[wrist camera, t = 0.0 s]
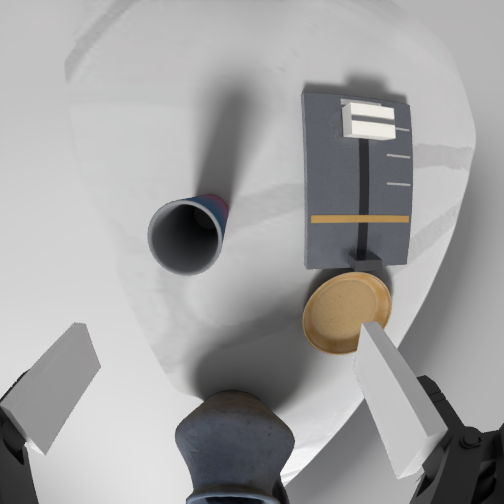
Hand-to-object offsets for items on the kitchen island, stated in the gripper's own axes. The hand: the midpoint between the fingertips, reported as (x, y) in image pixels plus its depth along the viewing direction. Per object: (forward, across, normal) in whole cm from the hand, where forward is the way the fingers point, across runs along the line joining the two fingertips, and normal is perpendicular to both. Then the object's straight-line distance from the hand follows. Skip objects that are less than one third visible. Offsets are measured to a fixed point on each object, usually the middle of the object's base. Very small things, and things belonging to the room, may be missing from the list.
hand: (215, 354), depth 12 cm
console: (+28, +17, +6) cm, 33 cm away
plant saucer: (+28, +16, -14) cm, 35 cm away
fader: (+26, +17, +14) cm, 34 cm away
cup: (+28, -4, +2) cm, 29 cm away
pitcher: (+28, -2, -36) cm, 46 cm away
